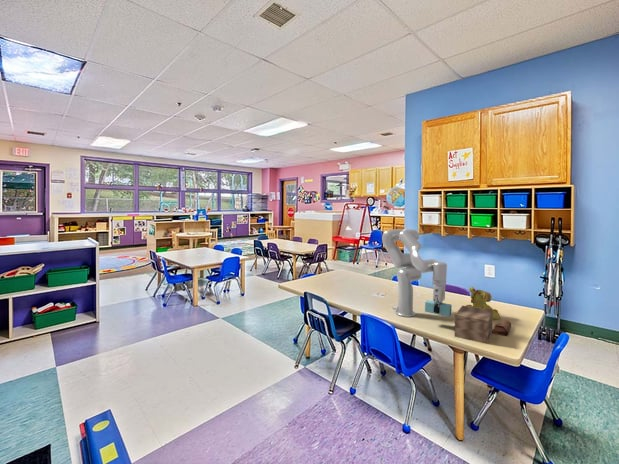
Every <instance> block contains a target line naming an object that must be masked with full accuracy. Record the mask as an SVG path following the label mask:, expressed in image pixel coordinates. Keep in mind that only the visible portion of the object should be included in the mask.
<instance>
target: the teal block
mask: <svg viewBox="0 0 619 464" xmlns="http://www.w3.org/2000/svg"><path fill="white" fill-rule="evenodd" d="M452 306H453V305H452V304H450V303H445V302H442V303H440V304H439V307H440V312H439V313H434V301H433V300H430V299H429V300H427V299H426V301H425V303H424V313H425V312H426V313H429V314H434V315H438V316H442V317H443V316H444V317H449V318H450V317H451V315H452Z"/></svg>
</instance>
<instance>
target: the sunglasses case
mask: <svg viewBox="0 0 619 464" xmlns="http://www.w3.org/2000/svg"><path fill="white" fill-rule="evenodd" d="M511 327H512V323H511V322H510V321H509V320H505V321H501V322H498V323H497V322H496V323H495V324H494V327H492V333H491V334H495V335H500V336H504V337H508V336H509V334H510V329H511Z"/></svg>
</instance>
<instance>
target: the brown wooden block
mask: <svg viewBox="0 0 619 464" xmlns="http://www.w3.org/2000/svg"><path fill="white" fill-rule="evenodd" d="M493 320H494V319H493V311H492V310H486V309H480V308H474V307H468V306H466V305H461V307H460V308H459V309H458V311H457V312H456V313H455V314H454V337H455V338H459V339H464V340H468V341H473V342H477V343H480V344H481V343H482V344H485V345H488V343H489V340H490V339H491V336H492V334H493V333H492V330H493Z"/></svg>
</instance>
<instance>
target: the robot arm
mask: <svg viewBox="0 0 619 464" xmlns="http://www.w3.org/2000/svg"><path fill="white" fill-rule="evenodd" d="M381 236H382V237H381V240H382V241H381V242H382V244H383V246H384V248H385V250H386V252H387V253H388V256H389V257H390V259H391V262H392V264H393V265H394V268H398V269H399V268H400V269H399V270H398V271H397V273H396V279H397V283H398V284H397V285H398V290H397V291H398V296H397V297H398V304H397V305H392V309H393V310H395V314H396V315H397V316H399V317H404V318H405V317H406V318H411V317H415V316H416V312H415V311H414V287H413V284H412V282H415V281H416V282H417V281H419V280H420V279H421V278H422V273H424V274H425V273H432V285H433V290H432V301H434V313H439V312H440V307H439V304H440V303H444V301H445V299H446V286H447V274H448V264H447V263H446V262H444V261H438V260H436V259H432V258H431V259H422V257H421V256H420V254H419V252H420V250H421V249H422V244H421V243H420V242H419V239H420V233H419V232H418V230H416V229H411V228H409V229H408V228H398V229H388V230H385V231H384V232H383V233H382V235H381ZM395 242H401V243H402V244H403V246H405V248H406V249H407V250H408V252H409V253H407V252H405V253H404V252H402V251H401V247H400V246H399V245H397V243H395ZM434 313H433V314H434Z"/></svg>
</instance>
